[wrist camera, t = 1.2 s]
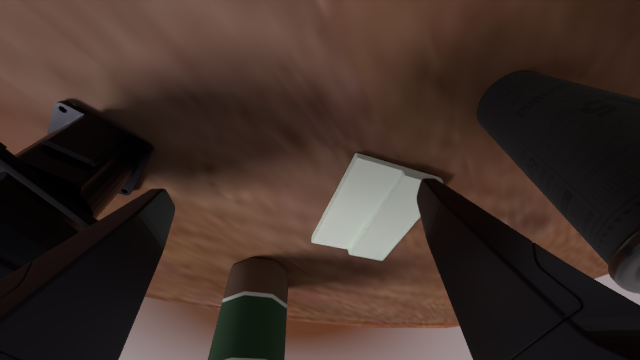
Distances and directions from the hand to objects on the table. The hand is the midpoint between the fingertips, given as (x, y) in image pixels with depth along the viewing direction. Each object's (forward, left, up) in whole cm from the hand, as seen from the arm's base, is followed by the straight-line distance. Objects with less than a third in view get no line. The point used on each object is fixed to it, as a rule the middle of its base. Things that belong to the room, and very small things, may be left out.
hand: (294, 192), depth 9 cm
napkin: (-6, -14, -12) cm, 19 cm away
